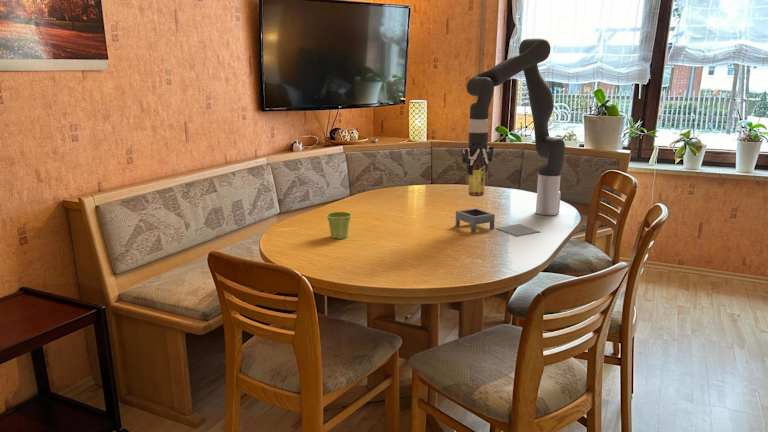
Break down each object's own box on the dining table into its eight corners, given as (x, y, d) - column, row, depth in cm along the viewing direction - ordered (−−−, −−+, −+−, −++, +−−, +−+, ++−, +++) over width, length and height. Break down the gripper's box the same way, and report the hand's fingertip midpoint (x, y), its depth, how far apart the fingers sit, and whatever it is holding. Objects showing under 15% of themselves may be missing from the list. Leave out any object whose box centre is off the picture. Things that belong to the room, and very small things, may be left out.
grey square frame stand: (475, 222, 238) (476, 208, 237) (494, 228, 228) (494, 214, 227) (455, 225, 233) (456, 211, 232) (473, 232, 224) (473, 217, 222)
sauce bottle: (483, 197, 224) (485, 146, 219) (467, 196, 225) (469, 146, 220) (484, 193, 230) (486, 144, 225) (468, 193, 231) (470, 143, 226)
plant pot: (332, 241, 211) (332, 219, 209) (323, 235, 219) (322, 213, 217) (355, 238, 215) (355, 216, 213) (345, 232, 224) (345, 210, 221)
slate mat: (519, 224, 234) (519, 224, 234) (540, 232, 224) (540, 231, 224) (496, 228, 229) (496, 227, 228) (516, 236, 218) (516, 235, 218)
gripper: (487, 128, 228) (485, 170, 232) (457, 131, 221) (456, 174, 225) (499, 130, 221) (497, 173, 226) (469, 132, 215) (468, 177, 219)
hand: (476, 173), depth 225 cm, fingers closed on sauce bottle, 6 cm apart
